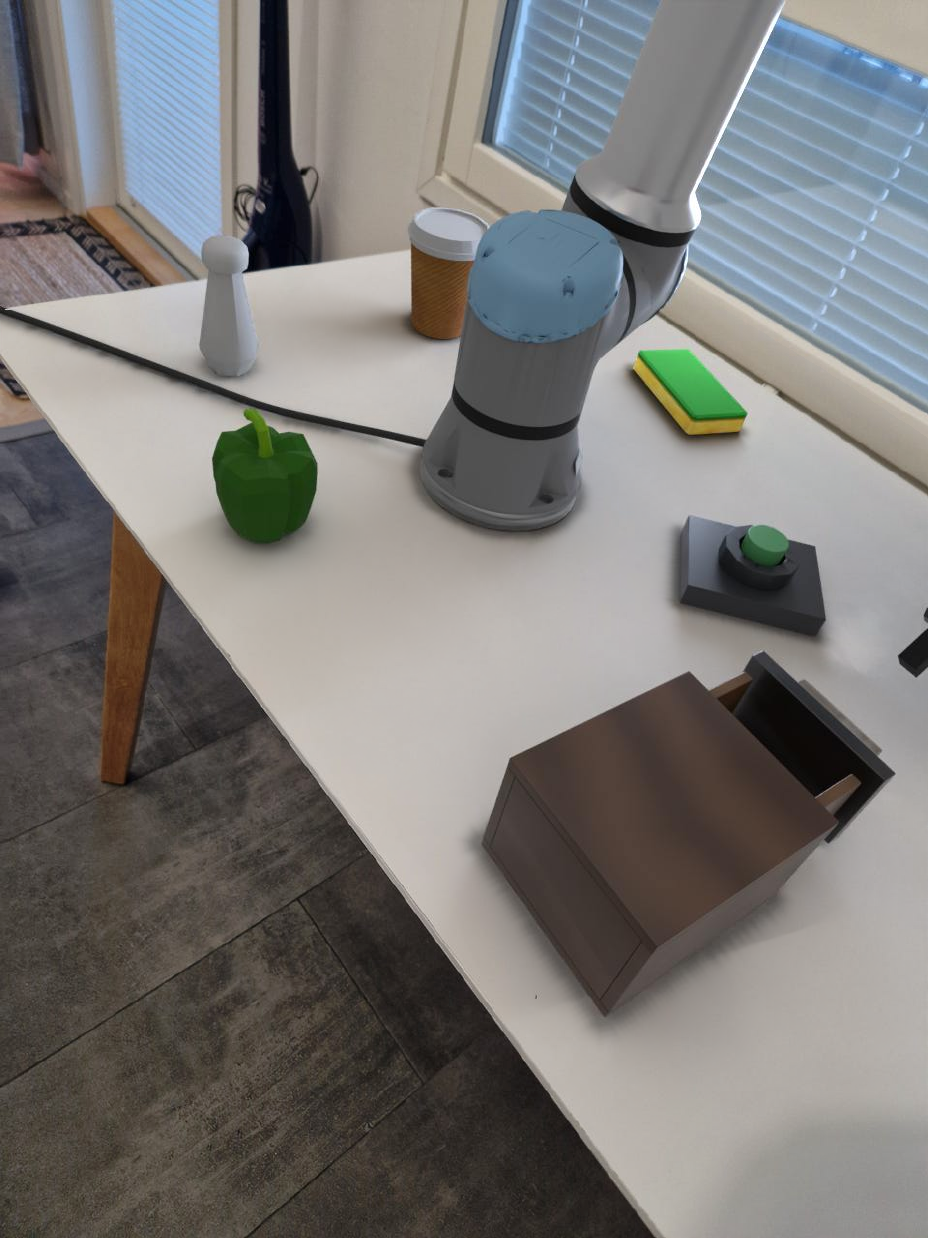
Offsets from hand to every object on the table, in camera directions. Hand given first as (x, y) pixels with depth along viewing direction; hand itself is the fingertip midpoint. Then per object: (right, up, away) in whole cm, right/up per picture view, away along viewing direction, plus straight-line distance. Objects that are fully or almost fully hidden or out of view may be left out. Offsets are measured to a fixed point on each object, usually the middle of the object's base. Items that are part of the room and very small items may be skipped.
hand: (907, 666), depth 62 cm
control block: (-6, +7, +17) cm, 19 cm away
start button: (-6, +9, +14) cm, 18 cm away
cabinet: (-21, -13, -6) cm, 25 cm away
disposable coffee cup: (-35, +38, +41) cm, 66 cm away
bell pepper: (-48, +11, +12) cm, 51 cm away
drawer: (-13, -9, -2) cm, 16 cm away
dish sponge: (-6, +29, +38) cm, 48 cm away
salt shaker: (-56, +29, +28) cm, 69 cm away
